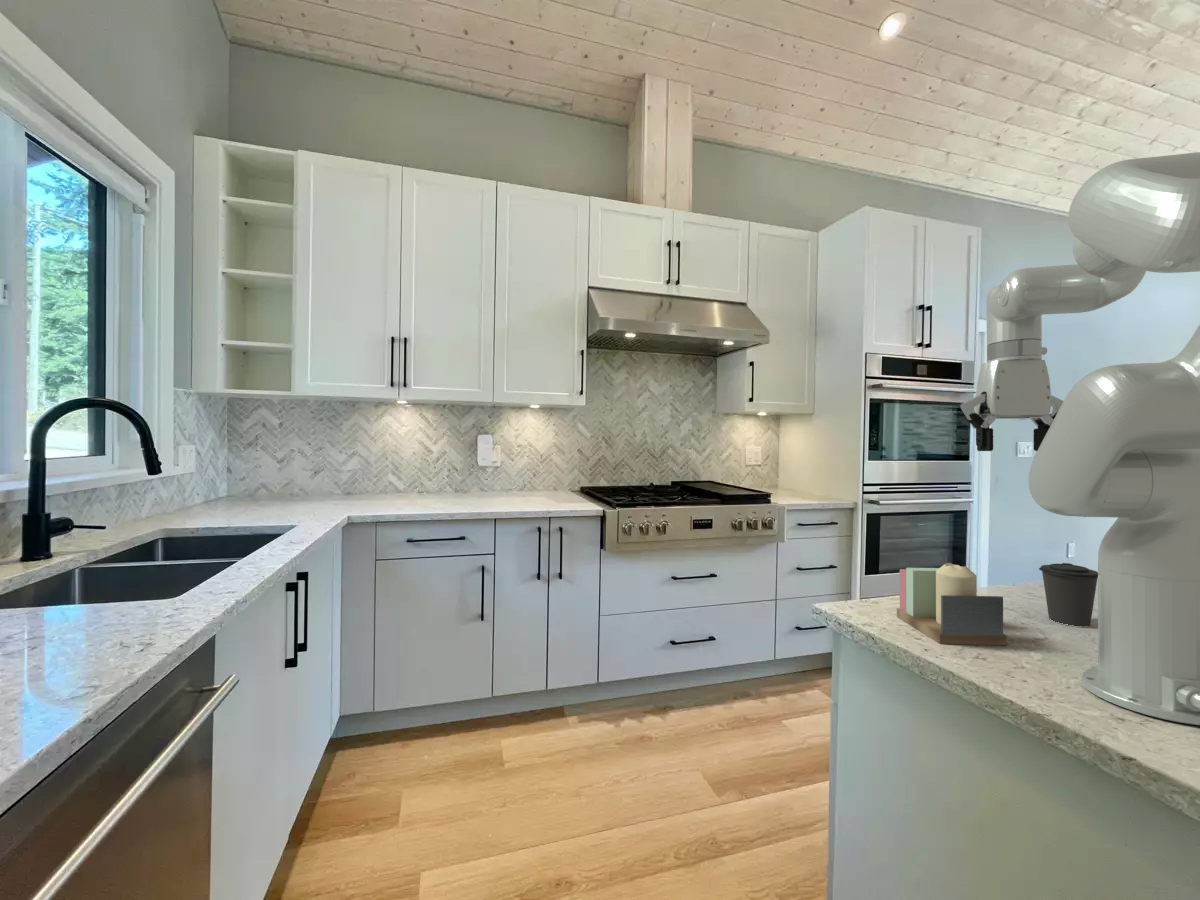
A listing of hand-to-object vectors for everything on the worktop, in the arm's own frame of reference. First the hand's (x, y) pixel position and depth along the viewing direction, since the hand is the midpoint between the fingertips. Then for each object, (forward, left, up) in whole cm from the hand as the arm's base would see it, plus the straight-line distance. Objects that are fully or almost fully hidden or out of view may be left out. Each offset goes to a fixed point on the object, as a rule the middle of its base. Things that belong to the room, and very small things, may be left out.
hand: (1013, 450), depth 89 cm
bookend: (-11, +14, -29) cm, 34 cm away
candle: (-7, +14, -29) cm, 33 cm away
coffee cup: (+1, -10, -31) cm, 32 cm away
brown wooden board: (-5, +14, -30) cm, 34 cm away
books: (0, +14, -29) cm, 32 cm away
